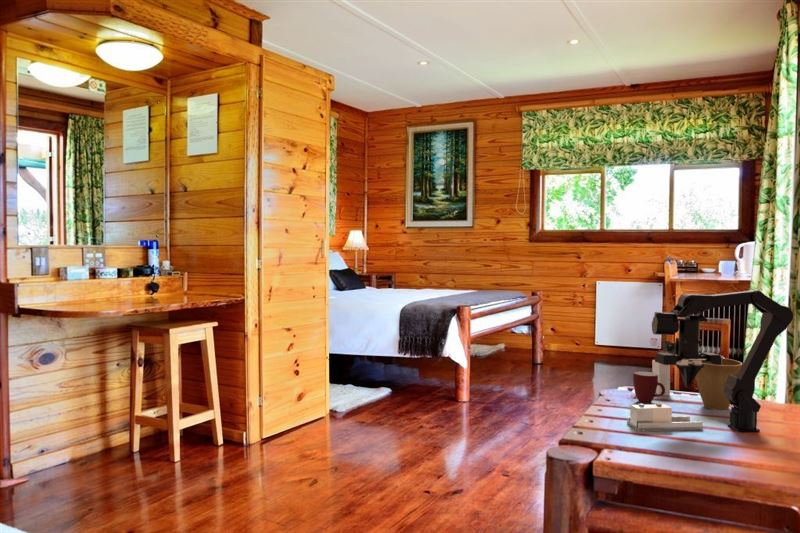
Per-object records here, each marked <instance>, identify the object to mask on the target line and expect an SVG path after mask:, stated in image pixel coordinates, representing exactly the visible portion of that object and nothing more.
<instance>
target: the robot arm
mask: <svg viewBox="0 0 800 533" xmlns="http://www.w3.org/2000/svg"><path fill="white" fill-rule="evenodd" d="M743 305H745V306H746V305H752V306H753V307H754V308H755V309H756V310H757V311H759V312H760V313H761V318H760V323H759V324H760V325H759V326H760V329H759V331H758V334H757V336H756V338H755V340H754V341H753V343H752V345H751V347H750V349H749V351H748V353H747V355H746V357H745V359H744V361H743V362H742V367H741V369H740V371H739V372H738V373H737V374H736V375H734V376H732V375H730V374H729V375H728V378H727V381H726V382H725V384H723V386H724V390H723V392H724V395H725V397H726V398H727V399H729V402H730V406H731V407H730V408H731V409H730V410H731V411H730V412H729V423H727V424H726V425H727V427H729V428H731V429H734V430H736V431H738V432H742V433H744V432H745V433H746V432H761V429H759V428H758V427H757V424H758V422H757V421H758V420H757V418H758V413H759V411H760V410H761V407H762V406H761V404H760V403H759V402H758V401H757V400H756V399H755V398H754V394H755V391H756V379H757V376H758V375H759V373H760V371H761V368H762V367H763V364H764V363H765V361H766V359H767V357H768V355H769V353H770V351H771V349H772V348H773V345H774V343H775V341H776V339H777V338H778V337H779V336H780V335H781V334H782V333H784V331H785V330H786V329H787V328H788V327H789V325H790V324H791V323H792V322H793V320H794V315H795V314H794V312H793V311H792V309H791V308H790V307H788V306H785V305H781V304H780V303H779V302H777V301H776V300H773V299H772V298H770V297H769V296H767V295H766V294H765V293H764V292H762V291H760V290H757V289H749V290H744V291H736V292H726V293H718V294H700V293H699V294H697V293H684V294H681V295H680V296H679V297H678V299H677V303H676V304H675V306H674V307H673V308H672V309H671V311H670V312H660V311H655V312H654V316H653V318H652V321H651V332H652V334H653V335H655V336H656V335H659V336H660V335H662V336H663V335H664V336H665V335H666V336H674V335H675V334H677V333H678V337H675V342H672V341H670V340H664V341H662V345H661V348H662V349H661V350H662V351H663V352H657V353H656V354H655V356H654V360H655V362H658V363H660V364H663V365H670V366H676V367H677V369H678V370H679V373H680V376H681V378H682V382H683V384H684V387H685V388H690V387H691V385H692V384H693V382H694V380H695V379H696V375H697V374H698V372H699V371H700V369H701V368H704V365H701V364H702V363H701V362H711V363H712V364H713V365H721V364H722V358H723V357H722V356H721V355H720V354H717V353H714V352H700V344H701V345H702V344H703V340H702V339H700V332H701V331H700V330H701V329H700V328H701V327H700V326H701V322H708V320H709V319H708V318H706V317H705V315H704V314H703V312H707V311H709V310H712V309H714V308H716V309H717V308H723V307H732V306H743Z"/></svg>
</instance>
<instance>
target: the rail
mask: <svg viewBox="0 0 800 533" xmlns="http://www.w3.org/2000/svg"><path fill="white" fill-rule="evenodd" d="M648 405H649V404H645V403H638V404H630V408H629V410H630V413H629V416H627V421H626V424H627V425H628V426H630V427H631V426H632V428H633V427H634V428H633V429H635V428H636V429H635V430H637V429H638V430H639V431H638V430H637V431H638V432H656V431H659V432H660V431H662V432H665V431H667V432H668V431H670V432H671V431H703V430H704V427H703V421H691V416H690V415H672V419H671V422H653V408H652V407H650V406H648ZM643 430H644V431H643Z"/></svg>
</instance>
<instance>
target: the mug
mask: <svg viewBox="0 0 800 533" xmlns="http://www.w3.org/2000/svg"><path fill="white" fill-rule="evenodd" d="M632 374H633V376H632V377H633V378H632V381H633V388H634V395H635V396H636V398H637V401H638V402H639V403H640V404H651V403H652V402H653V400H654V398H659V397H660V398H661V397H662V396H665V395H664V393H665V387H664V385H663V384H662V383H659V382H658V374H656V373H652V372H651V371H641V370H640V371H634V372H633V373H632ZM657 385H659V386H660V387H661V388H662V393H661V394H660V395H659V394H657V393H656V389H657Z"/></svg>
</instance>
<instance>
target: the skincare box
mask: <svg viewBox="0 0 800 533" xmlns="http://www.w3.org/2000/svg"><path fill="white" fill-rule="evenodd" d="M651 362H652V368H651V369H652V373H656V374H658V382H659V383H662V384H663V385H664V387H665V393H664V395H663V396H670V394H671V365H663V364H660V363H658V362H655V359H652V361H651ZM661 393H662V388H661V387H660V386H659V385H657V389H656V395H660V394H661Z"/></svg>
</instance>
